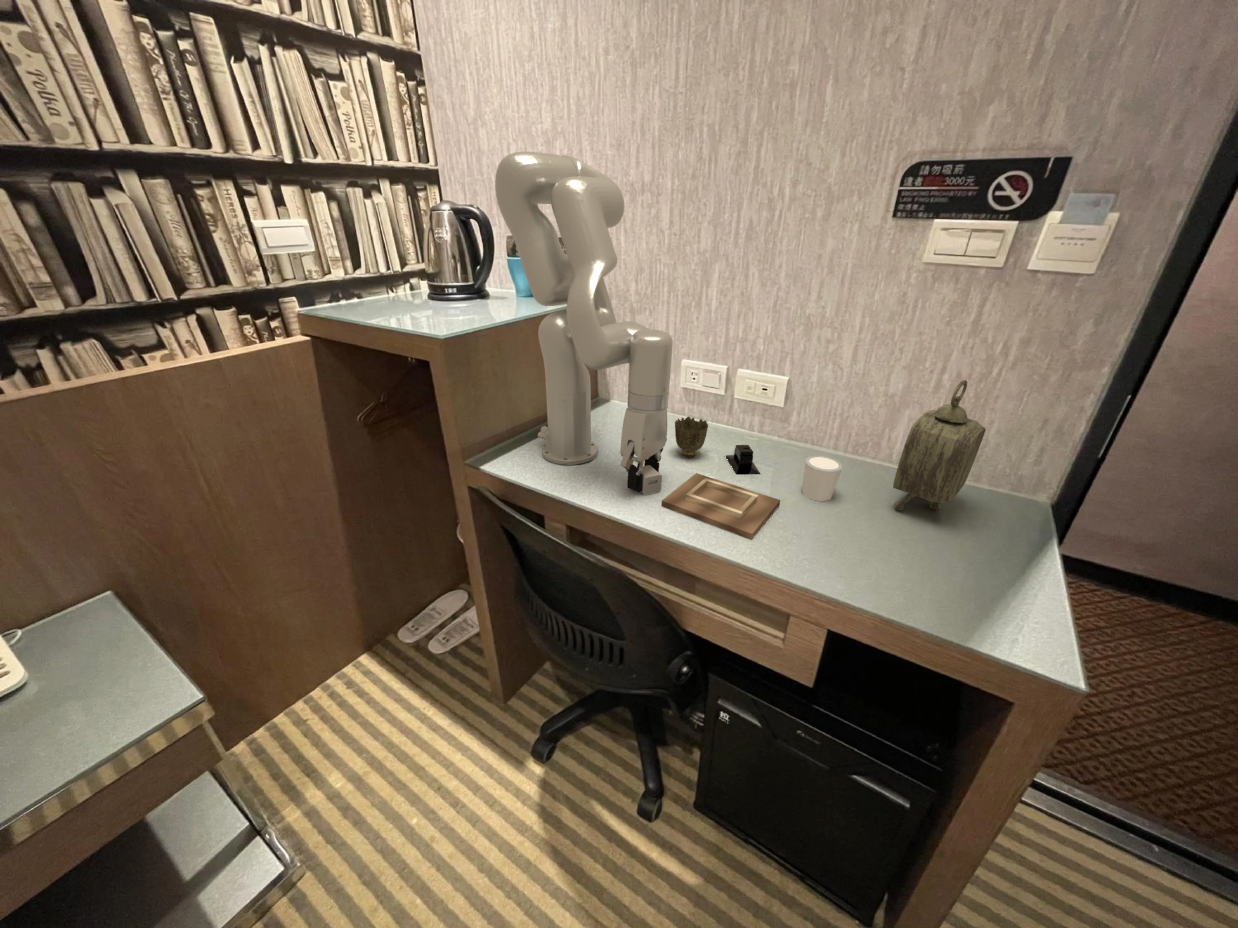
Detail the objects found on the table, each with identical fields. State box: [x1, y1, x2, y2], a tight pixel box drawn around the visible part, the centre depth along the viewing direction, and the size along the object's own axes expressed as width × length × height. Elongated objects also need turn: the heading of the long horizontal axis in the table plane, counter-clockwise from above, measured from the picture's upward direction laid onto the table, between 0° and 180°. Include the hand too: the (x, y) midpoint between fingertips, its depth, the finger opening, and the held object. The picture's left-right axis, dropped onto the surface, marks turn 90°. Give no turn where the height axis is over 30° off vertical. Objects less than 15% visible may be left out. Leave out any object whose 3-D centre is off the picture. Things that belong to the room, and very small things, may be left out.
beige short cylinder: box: [801, 455, 843, 502], centre depth 100 cm, size 7×7×7 cm
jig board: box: [661, 472, 781, 540], centre depth 96 cm, size 18×14×2 cm
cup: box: [674, 416, 709, 458], centre depth 114 cm, size 8×7×8 cm
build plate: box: [725, 444, 761, 476], centre depth 112 cm, size 12×7×5 cm, turn 4°
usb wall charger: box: [640, 465, 663, 496], centre depth 102 cm, size 4×7×4 cm, turn 26°
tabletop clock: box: [892, 379, 986, 511], centre depth 93 cm, size 14×9×25 cm, turn 135°
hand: (642, 483), depth 102 cm, fingers closed on usb wall charger, 5 cm apart
